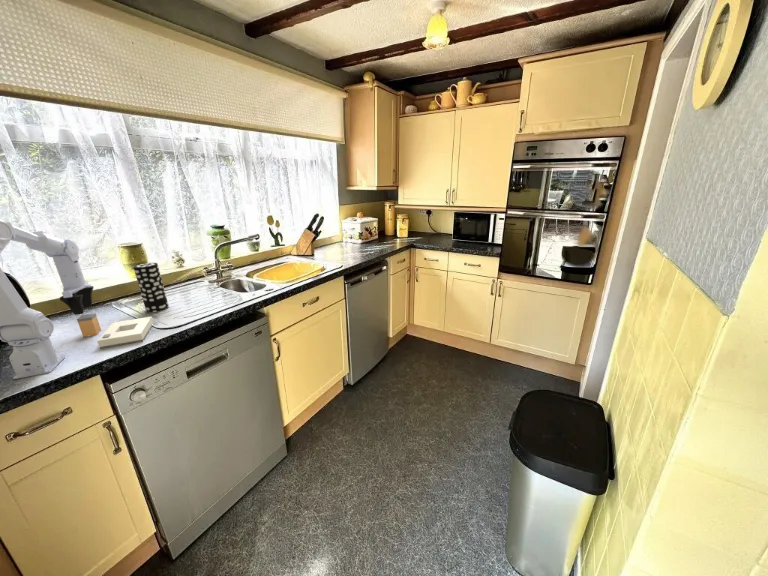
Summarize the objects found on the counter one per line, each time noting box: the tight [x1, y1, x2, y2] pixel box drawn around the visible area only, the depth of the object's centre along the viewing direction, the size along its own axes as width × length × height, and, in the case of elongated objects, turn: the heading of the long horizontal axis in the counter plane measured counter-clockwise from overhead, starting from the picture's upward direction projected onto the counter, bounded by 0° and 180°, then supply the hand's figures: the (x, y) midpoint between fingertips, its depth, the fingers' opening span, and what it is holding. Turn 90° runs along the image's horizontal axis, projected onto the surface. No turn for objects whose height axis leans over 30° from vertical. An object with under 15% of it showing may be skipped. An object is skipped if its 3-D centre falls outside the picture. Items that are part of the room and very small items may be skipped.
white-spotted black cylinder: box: [133, 262, 170, 313], centre depth 133 cm, size 8×8×20 cm
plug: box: [76, 312, 102, 338], centre depth 113 cm, size 4×4×7 cm
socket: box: [97, 316, 154, 350], centre depth 112 cm, size 16×12×3 cm
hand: (83, 310), depth 111 cm, fingers open, 7 cm apart
